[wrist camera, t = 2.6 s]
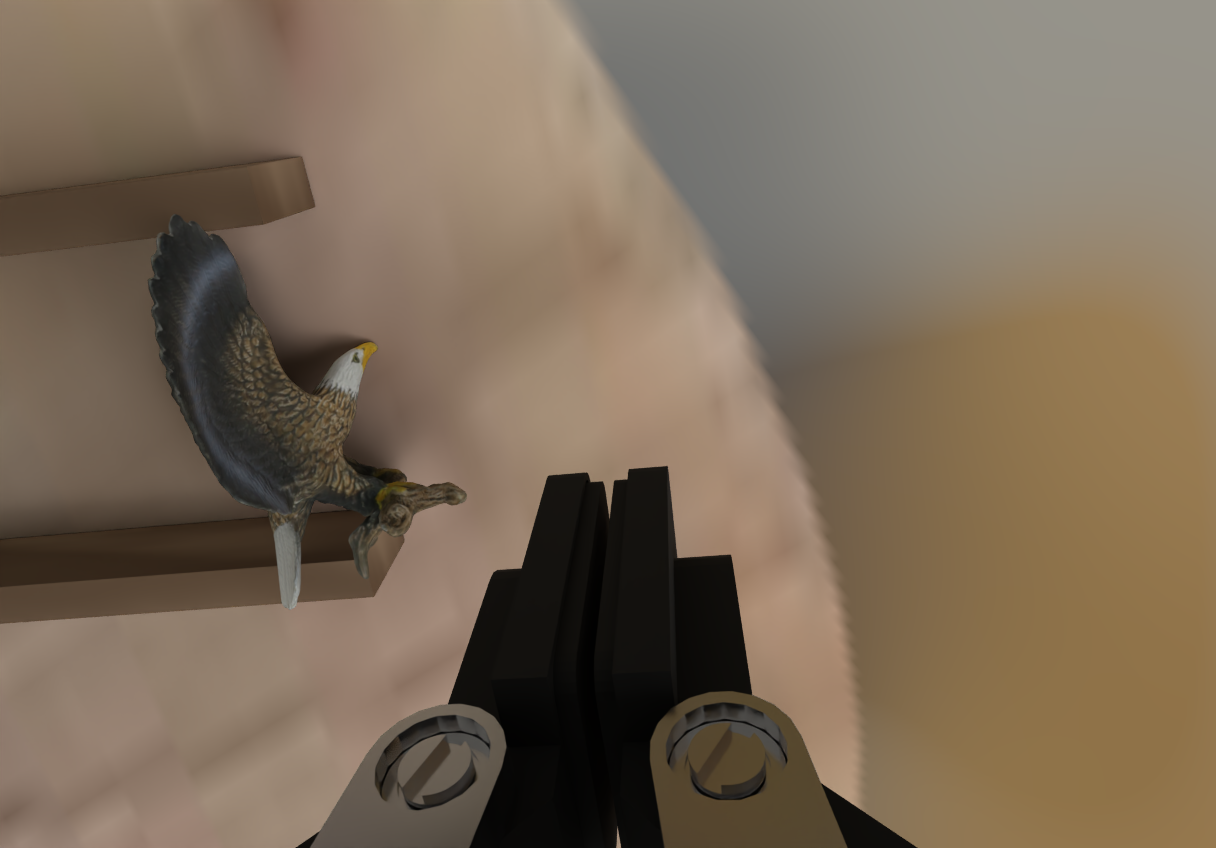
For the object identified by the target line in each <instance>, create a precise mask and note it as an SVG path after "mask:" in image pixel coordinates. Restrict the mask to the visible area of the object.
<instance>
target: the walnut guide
mask: <svg viewBox="0 0 1216 848" xmlns="http://www.w3.org/2000/svg"><path fill="white" fill-rule="evenodd" d="M313 207H315V204H314V200H313V196H312V193H311V189H310V185H309V181H308V178H307V174H306V170H305V167H304V163H303V159H302V157H295V158H288V159H280V160H272V161H265V162H257V163H250V164H242V165H234V166H227V167H219V168H211V169H204V170H196V171H188V172H181V173H173V174H165V175H158V176H150V177H143V178H135V179H127V180H120V181H112V182H104V183H97V184H89V185H81V186H74V187H66V188H59V189H51V190H43V191H36V192H28V193H20V194H13V195H5V196H0V257H1V256H9V255H18V254H26V253H34V252H42V251H50V250H58V249H67V248H75V247H83V246H91V245H99V244H107V243H116V242H124V241H132V240H140V239H148V238H156V237H157V235H158V233H161V232H164V233H166V234H169V222H170V218H171V216H172V215H173V214H177V215H180V216H181V217H182V219H183V220H184V221H185V222H187V223H188V222H189V221H195V222H196V223H198V224H199V225H200V226H201V228H202V229H203V230H204V231H214V230H222V229H230V228H238V227H246V226H254V225H263V224H266V223H269V222H272V221H275V220H278V219H281V218H284V217H287V216H290V215H293V214H296V213H299V212H302V211H304V210H307V209H310V208H313ZM366 518H367V517H364V516H363V515H362V514H360V513H359V512H355V511H353V510H349V511H337V512H325V513H313V514H310V515H309V517H308V520H307V523H306V527H305V533H304V536H303V538H302V541H301V585H300V593H299V596H298V599H297V602H310V601H324V600H338V599H352V598H366V597H374V596H375V594H376V592H377V590H378V589H379V587H380V585H381V583H382V581H383V580H384V578H385V576H386V574H387V572H388V570H389V569H390V567H391V565H392V563H393V561H394V559H395V558H396V556H397V554H398V552H399V550H400V549H401V547H402V545H403V543H404V537H403V535H401V536H399V537H392V536H390V535H389V534H387V533H386V532H385V531H382V532H381V533H380V535H379V536H378V540H377V542H376V543H375V544H374V545H373V546H372V547H370V549H369V551H368V555H367V558H368V565H369V578H368V579H364V578H363V577H362V576H361V575H360V574H359V573H358V571H357V569H356V566H355V562H354V557H353V550H352V548H351V546H350V544H349V541H348V539H349V536H350V534H351V533H352V532H353V531H354V530H355V529H356V528H357V527H358V526H359V525H360V524H361V523H362V522H363V521H364V520H365V519H366ZM268 604H282V602H281V593H280V585H279V575H278V566H277V557H276V549H275V541H274V535H273V531H272V527H271V524H270V520H269V517H265V518H253V519H241V520H229V521H217V522H205V523H193V524H181V525H169V526H157V527H145V528H133V529H121V530H109V531H97V532H85V533H73V534H61V535H49V536H37V537H25V538H13V539H1V540H0V624H2V623H16V622H30V621H44V620H58V619H72V618H86V617H100V616H114V615H128V614H142V613H156V612H170V611H184V610H198V609H212V608H226V607H240V606H254V605H268Z"/></svg>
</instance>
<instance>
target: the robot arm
mask: <svg viewBox="0 0 1216 848" xmlns="http://www.w3.org/2000/svg"><path fill="white" fill-rule="evenodd" d="M617 826H618V831H619V837H620V843H621V848H917V847H915V846H914V845H912V844H911V843H909V842H908V841H906V840H905V839H903V838H902V837H900V836H899V835H897V834H896V833H895V832H893V831H891V830H890V829H889V828H887V827H886V826H884V825H883V824H881V823H880V822H878V821H877V820H875V819H874V818H872V817H871V816H869V815H868V814H866V813H865V812H863V811H862V810H860V809H859V808H857V807H856V806H854V805H853V804H851V803H850V802H848V801H847V800H845V799H844V798H842V797H841V796H839V795H838V794H836V793H835V792H833V791H832V790H830V789H829V788H827V787H826V786H824V785H823V784H821V782H820V780H819V777H818V775H817V772H816V770H815V768H814V765H813V763H812V760H811V758H810V755H809V753H808V751H807V748H806V746H805V743H804V741H803V738H802V736H801V734H800V733H799V731H798V730H797V728H796V726H795V725H794V723H793V722H792V720H791V718H789V717H788V716H787V715H786V714H785V713H783V712H782V711H781V710H780V709H779V708H778V707H776V706H775V705H774V704H772V703H769V702H767V701H765V700H763V699H761V698H759V697H756V696H754V695H752V690H751V683H750V676H749V670H748V663H747V656H746V650H745V643H744V636H743V630H742V623H741V616H740V609H739V603H738V596H737V589H736V583H735V576H734V569H733V563H732V557H731V555H718V556H703V557H688V558H677V550H676V540H675V530H674V521H673V511H672V501H671V491H670V481H669V473H668V466H663V467H650V468H638V469H629V471H628V479H627V480H615V481H614V486H613V495H612V504H611V512H610V520H609V513H608V506H607V499H606V492H605V487H604V483H603V481H602V482H590V478H589V475H588V473H575V474H562V475H550V476H548V478H547V480H546V484H545V487H544V491H543V494H542V498H541V502H540V505H539V509H538V512H537V516H536V519H535V523H534V526H533V530H532V534H531V537H530V541H529V544H528V548H527V551H526V555H525V558H524V562H523V566H522V569H507V570H497V571H495V572H494V573H493V575H492V577H491V579H490V581H489V584H488V587H487V590H486V593H485V596H484V599H483V602H482V605H481V608H480V611H479V614H478V617H477V620H476V623H475V626H474V629H473V632H472V635H471V638H470V640H469V643H468V646H467V649H466V652H465V655H464V658H463V661H462V664H461V667H460V670H459V673H458V676H457V679H456V682H455V685H454V688H453V691H452V694H451V697H450V700H449V703H448V705H439V706H435V707H431V708H428V709H424V710H421V711H418V712H416V713H414V714H412V715H410V716H408V717H407V718H405V719H403V720H401V721H399V722H398V723H396V724H395V725H394V726H393V727H391V728H390V729H389V730H388V731H386V732H385V733H384V734H383V735H381V736H380V738H379V739H378V740H377V742H376V743H375V744H374V745H373V747H372V748H371V749H370V750H369V752H368V753H367V754H366V756H365V758H364V759H363V761H362V763H361V764H360V766H359V768H358V769H357V771H356V773H355V774H354V776H353V778H352V779H351V781H350V783H349V784H348V786H347V788H346V789H345V791H344V792H343V794H342V796H341V797H340V799H339V801H338V802H337V804H336V806H335V807H334V809H333V811H332V812H331V814H330V816H329V817H328V819H327V821H326V822H325V824H324V826H323V827H322V829H321V830H320V831H319V832H318V833H316V834H315V835H314V836H312V837H311V838H309V839H308V840H306V841H305V842H303V843H302V844H300V845H299V846H298V847H296V848H616V844H617Z"/></svg>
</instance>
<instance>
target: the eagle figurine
mask: <svg viewBox="0 0 1216 848" xmlns="http://www.w3.org/2000/svg"><path fill="white" fill-rule="evenodd" d="M156 245H157V251H156V253H155V254H154V255H152V257H151V264H152V268H153V271H154V274H155V275H154V277H153V278H150V279H148V284H149V291H150V294H151V297H152V299H153V302H154V305H153V307H152V309H151V312H152V317H153V318H154V320H155V325H156V330H155V336H156V340H157V342H158V344H159V346H160V353H159V357H160V359H161V361H162V363H163V364H164V366H165V367H166V370H167V371H166V379H167V381H168V383H169V384H170V386H171V388H172V393H171V394H172V396H173V398H174V399H175V401H176V402H177V404H178V405H179V406H180V411H181V413H182V414H183V415H184V418H185V421H186V422H187V424H188V426H189V428H190V430H191V431H192V434H193V437H194V441H195V443H196V444H197V445H198V446H199V449H200V451H201V453H202V455H203V456H204V457H205V459H206V460H207V462H208V464H209V466H210V468H211V469H212V471H213V473H214V475H215V476H216V477H217V479H218V481H219V483H220V484H221V485H222V486H223V487H224V488H225V489H226V490H227V491H228V492H229V493H230V494H231V496H232V497H233V498H234V499H235V500H237V501H238V502H239V503H242V504H245V505H247V506H252V507H254V508H258V509H263V510H268V517H269V520H270V524H271V527H272V531H273V535H274V541H275V549H276V557H277V566H278V575H279V585H280V593H281V602H282V604H283V606H284V607H285V608H288V609H289V610H291V609H293V608H294V607H295V606H296V604H297V599H298V596H299V593H300V585H301V541H302V538H303V536H304V533H305V527H306V523H307V520H308V517H309V515H310V512H311V508H312V505H313V503H314V501H315V500H318V501H320V502H322V503H331V504H334V505H337V506H343V507H344V508H346V509H347V510H350V509H351V510H353V511H355V512H359V513H360V514H362V515H363V516H364V517H367V518H366V519H365V520H364V521H363V522H362V523H361V524H360V525H359V526H358V527H357V528H356V529H355V530H354V531H353V532H352V533H351V534H350V536H349V539H348V541H349V544H350V546H351V548H352V550H353V557H354V562H355V566H356V569H357V571H358V573H359V574H360V575H361V576H362V577H363V578H364V579H368V578H369V565H368V558H367V555H368V551H369V549H370V547H372V546H373V545H374V544H375V543H376V542H377V540H378V536H379V535H380V533H381V532H382V531H385V532H386V533H387V534H389V535H390V536H392V537H399V536H401V535H403V534H405V533H406V532H407V530H408V529H409V527H410V525H411V522H412V518H413V515H414V514H416V513H417V512H419V511H422V510H424V509H427V508H431V507H433V506H436V505H439V504H442V503H447V504H449V505H458V504H460V503H463V502H465V500H466V497H467V494H466V493H465V491H463V490H462V489H460V488H459V487H458V486H456V485H454V484H453V483H450V482H447V483H443V484H433V485H430V486H428V487H425V486H423V485H420V484H416V483H413V482H406V481H407V477H406V476H405V474H403V473H402V472H401V471H400V470H398V469H387V468H383V469H377V468H375V467H371V466H366V465H362V464H359V463H358V462H357V461H356V460H354V459H352V458H349V457H347V456H345V455H344V454H343V450H342V446H343V443H344V441H345V440H346V438H347V437H348V434H349V432H350V429H351V426H352V422H353V419H354V417H355V414H356V402H357V397H358V392H359V385H360V381H361V378H362V375H363V372H364V369H365V366H366V363H367V361H368V359H369V357H370V356H371V355H372V353H374V352H375V351H376V350H377V349H378V347H377V346H376V345H375V344H374V343H372V342H368V343H363V344H361V345H359V346H358V347H356V348H353V349H351V350H349V351H347V352H346V353H345V354H343V355H342V356H341V357H339V358H338V359H337V360H336V361H335V362H334V363H333V364H332V366H331V367H330V369H329V370H328V372H327V373H326V375H325V376H324V378H323V379H322V381H321V383H320V384H319V385H318V386H317V387H316V388H315V390H314V391H313V393H312V394H308V393H306V392H305V391H303V390H302V389H301V388H299V387H298V386H297V385H296V384H294V383H293V382H292V381H291V380H290V379H289V377H288V376H287V375H286V374H285V372H284V371H283V369H282V367H281V365H280V363H279V361H278V359H277V356H276V354H275V351H274V348H273V345H272V342H271V338H270V336H269V333H268V331H267V329H266V327H265V325H264V323H263V322H262V320H261V319H260V317H259V316H258V315H257V314H256V313H255V311H254V310H253V309H252V307H251V306H250V304H249V301H248V299H247V291H246V286H245V283H244V280H243V278H242V275H241V273H240V270H239V267H238V265H237V263H236V261H235V259H234V256H233V255H232V253H231V252H230V250H229V248H228V246H227V245H226V243H225V242H224V241H223V239H222V238H221V237H220V236H218V235H215V234H211V235H210V236H208V235H207V233H206V232H205V231H204V230H203V229H202V228H201V226H200V225H199V224H198V223H196V222H195V221H189V222H188V223H187V222H185V221H184V220H183V219H182V217H181V216H180V215H177V214H173V215H172V216H171V218H170V222H169V234H166V233H164V232H161V233H158V235H157V240H156Z"/></svg>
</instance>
